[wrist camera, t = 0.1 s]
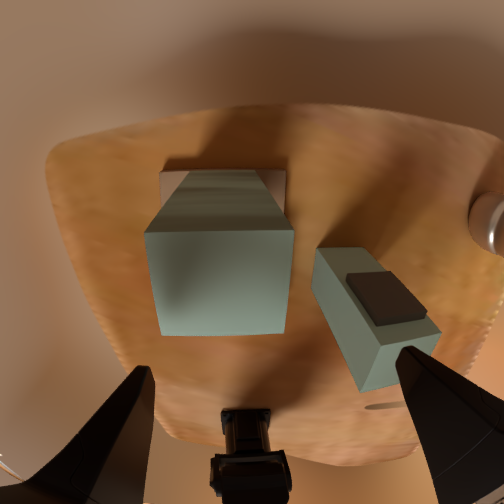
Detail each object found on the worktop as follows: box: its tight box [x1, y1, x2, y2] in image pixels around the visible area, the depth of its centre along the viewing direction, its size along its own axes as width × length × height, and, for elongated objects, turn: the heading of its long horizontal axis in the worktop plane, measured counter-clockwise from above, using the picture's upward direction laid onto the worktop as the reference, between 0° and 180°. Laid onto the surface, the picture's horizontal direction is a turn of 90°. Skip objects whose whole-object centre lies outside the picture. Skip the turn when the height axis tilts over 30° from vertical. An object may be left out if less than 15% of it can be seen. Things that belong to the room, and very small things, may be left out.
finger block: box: [311, 247, 442, 393], centre depth 19 cm, size 5×4×12 cm
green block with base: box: [144, 168, 295, 336], centre depth 17 cm, size 13×9×13 cm
